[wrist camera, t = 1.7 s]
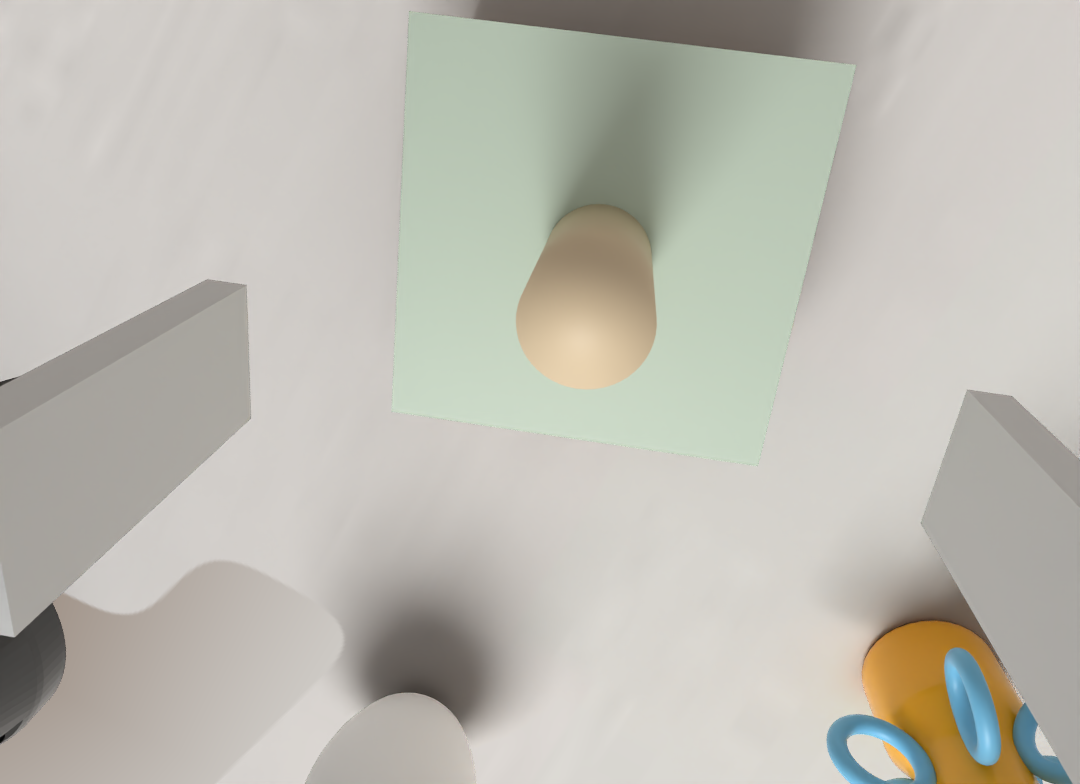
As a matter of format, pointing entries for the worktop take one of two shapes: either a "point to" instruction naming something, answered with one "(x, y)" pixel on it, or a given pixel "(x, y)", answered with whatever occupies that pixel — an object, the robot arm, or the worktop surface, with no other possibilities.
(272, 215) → the worktop surface
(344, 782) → the sauce bottle
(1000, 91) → the worktop surface
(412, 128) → the lid
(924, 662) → the cylinder
